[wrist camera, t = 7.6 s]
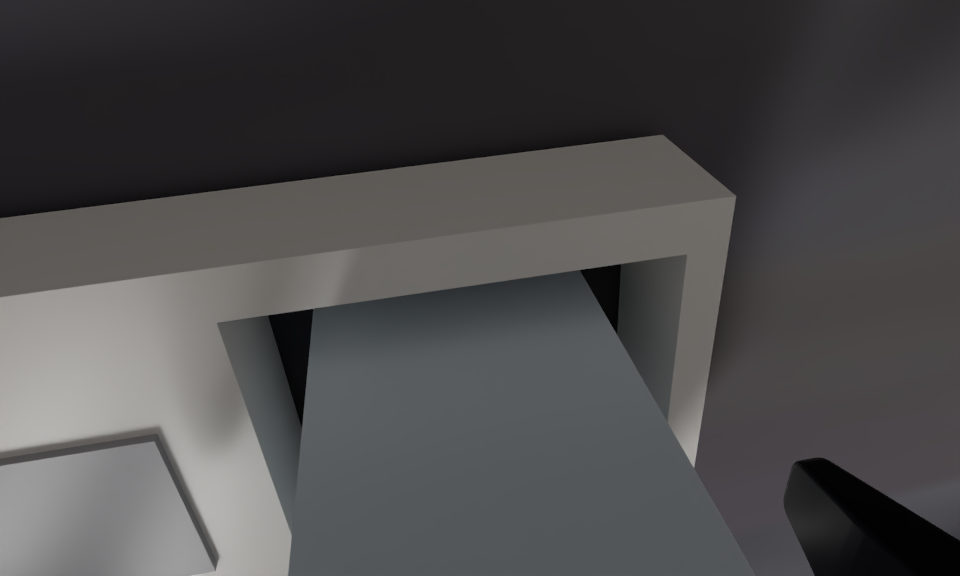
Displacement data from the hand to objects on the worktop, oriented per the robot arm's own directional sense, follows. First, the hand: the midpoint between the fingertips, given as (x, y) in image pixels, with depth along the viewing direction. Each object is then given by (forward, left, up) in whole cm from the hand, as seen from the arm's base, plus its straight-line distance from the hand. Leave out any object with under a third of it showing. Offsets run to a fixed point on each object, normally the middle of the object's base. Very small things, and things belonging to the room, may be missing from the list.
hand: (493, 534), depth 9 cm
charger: (0, 0, -4) cm, 4 cm away
